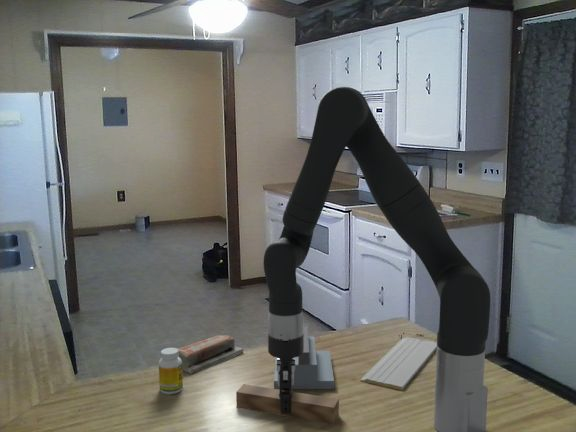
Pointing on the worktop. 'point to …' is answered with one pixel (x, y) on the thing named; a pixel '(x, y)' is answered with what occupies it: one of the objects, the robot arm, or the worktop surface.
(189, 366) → the packaged product
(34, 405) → the worktop surface
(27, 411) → the worktop surface
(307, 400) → the walnut batten
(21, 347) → the worktop surface
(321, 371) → the ridge stand
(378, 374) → the baseboard molding
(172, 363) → the supplement bottle
